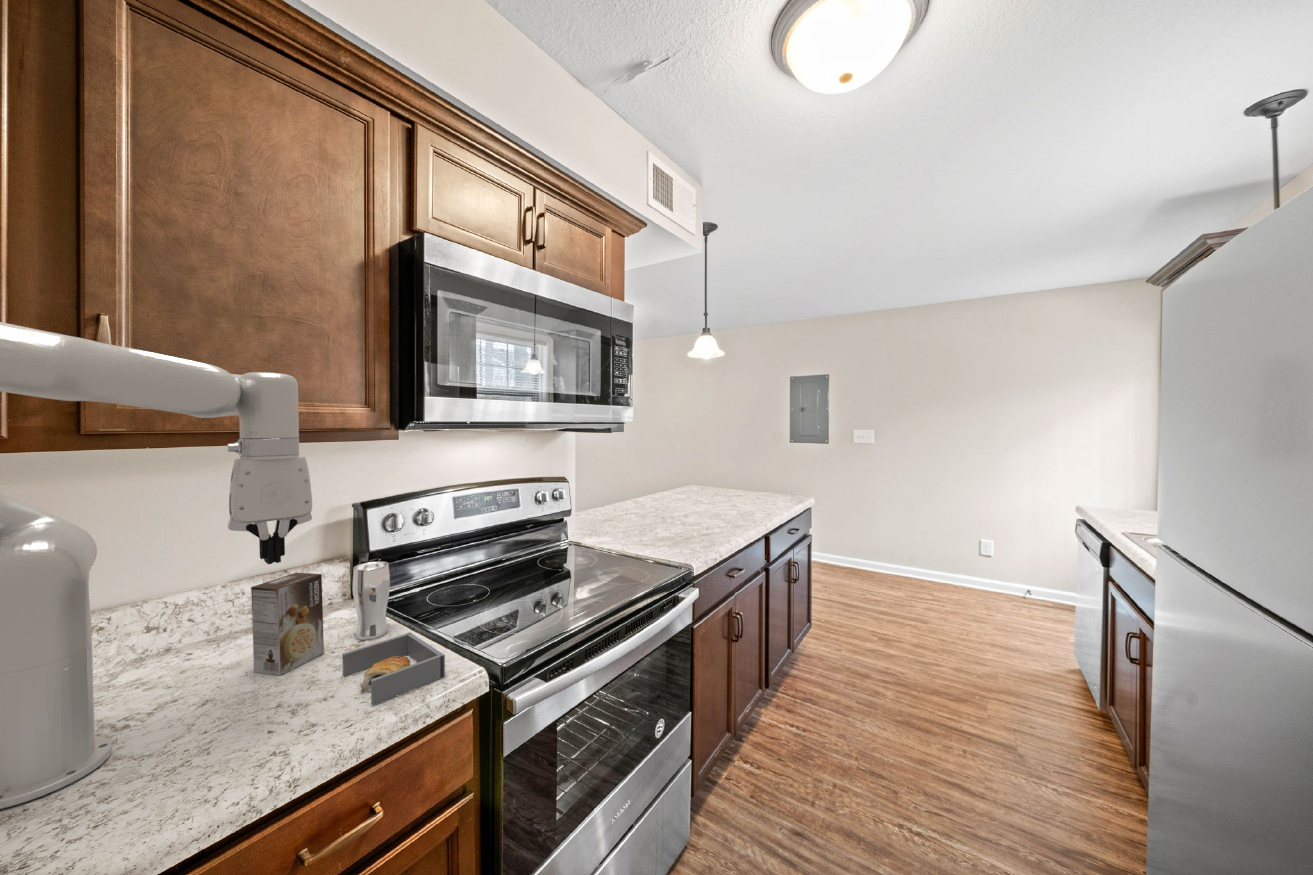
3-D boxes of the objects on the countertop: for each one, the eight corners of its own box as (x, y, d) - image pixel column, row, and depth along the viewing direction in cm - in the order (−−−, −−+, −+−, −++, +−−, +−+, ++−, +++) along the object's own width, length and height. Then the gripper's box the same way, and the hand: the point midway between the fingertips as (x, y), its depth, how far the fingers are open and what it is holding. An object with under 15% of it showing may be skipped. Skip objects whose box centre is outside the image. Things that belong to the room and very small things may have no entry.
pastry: (381, 667, 91) (381, 647, 91) (419, 665, 92) (419, 645, 92) (357, 695, 81) (357, 672, 81) (400, 692, 82) (400, 670, 82)
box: (373, 705, 78) (372, 681, 78) (342, 675, 87) (342, 653, 87) (444, 676, 87) (444, 654, 87) (410, 652, 96) (410, 632, 96)
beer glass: (345, 637, 103) (344, 568, 102) (375, 625, 109) (375, 559, 109) (368, 643, 100) (367, 571, 100) (397, 630, 107) (396, 563, 106)
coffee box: (298, 650, 97) (296, 571, 97) (325, 653, 96) (323, 573, 96) (251, 673, 88) (250, 586, 88) (280, 676, 87) (278, 588, 87)
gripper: (211, 452, 70) (214, 577, 70) (331, 448, 81) (333, 556, 82) (204, 450, 75) (206, 567, 75) (317, 447, 86) (319, 549, 87)
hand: (272, 561), depth 79 cm, fingers closed
